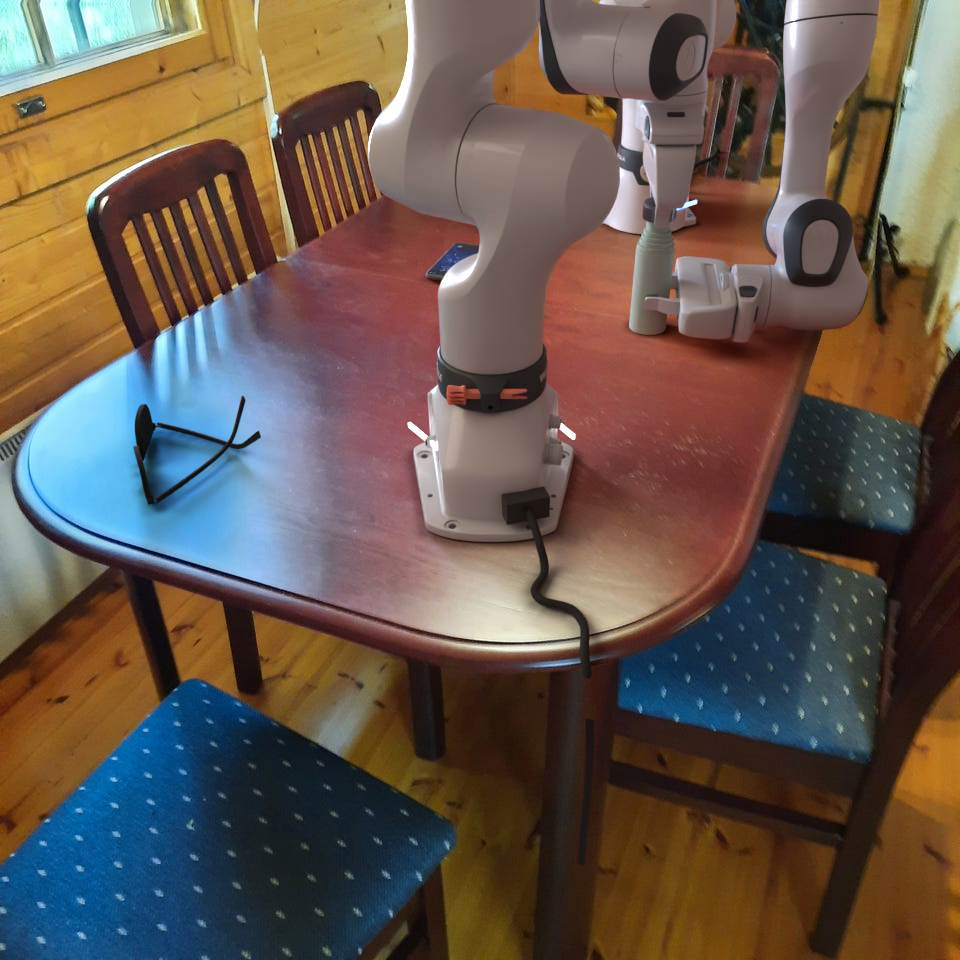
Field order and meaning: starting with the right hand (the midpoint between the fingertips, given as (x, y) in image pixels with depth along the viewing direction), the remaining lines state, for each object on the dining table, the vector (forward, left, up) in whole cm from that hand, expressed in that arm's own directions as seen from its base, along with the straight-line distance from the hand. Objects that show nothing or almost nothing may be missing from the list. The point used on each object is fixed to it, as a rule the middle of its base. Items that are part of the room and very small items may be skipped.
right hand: (644, 292), depth 124 cm
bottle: (0, +1, -5) cm, 6 cm away
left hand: (0, +1, +11) cm, 11 cm away
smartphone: (-20, -31, -5) cm, 37 cm away
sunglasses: (+40, -52, -5) cm, 66 cm away
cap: (0, +1, +13) cm, 13 cm away
